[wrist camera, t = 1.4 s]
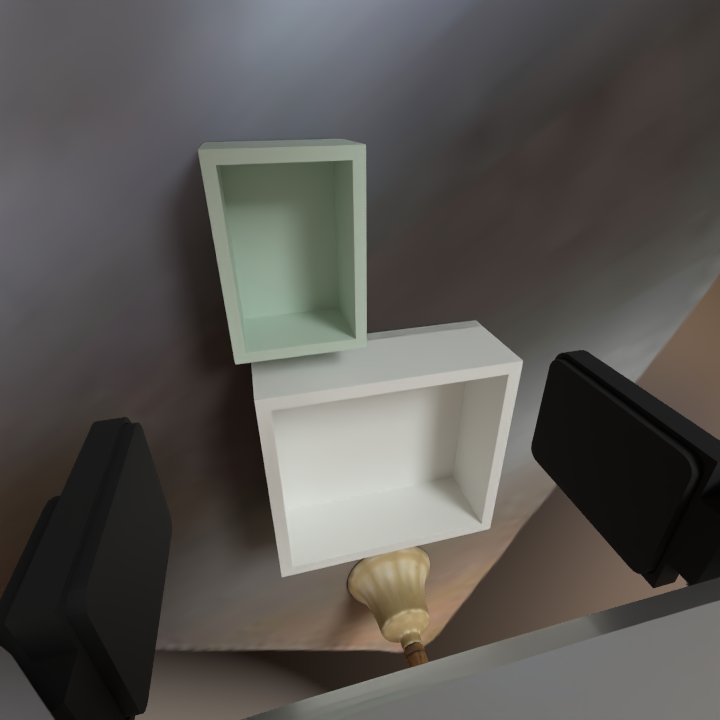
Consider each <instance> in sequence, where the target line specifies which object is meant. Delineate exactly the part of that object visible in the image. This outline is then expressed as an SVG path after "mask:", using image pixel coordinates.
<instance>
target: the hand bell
mask: <svg viewBox="0 0 720 720" xmlns="http://www.w3.org/2000/svg"><path fill="white" fill-rule="evenodd" d="M429 568H430V561H429V558H428V556H427V554H426V553H425V552H424V551H423V550H421V549H420V548H418V547H415V546H414V547H410V548H405V549H401V550H397V551H393V552H388V553H384V554H380V555H375V556H371V557H367V558H363V559H362V560H361V561H360V562H359V563H358V564H357V565H356V566H355V567H354V568H353V569H352V571H351V573H350V575H349V578H348V589H349V591H350V593H351V594H352V596H353V597H354V598H355V599H356V600H358V601H359V602H361V603H363V604H365V605H367V606H368V607H369V609H370V610H371V612H372V613H373V615H374V617H375V619H376V621H377V623H378V625H379V628H380V631H381V633H382V635H383V637H384V638H385V639H386V640H388V641H391V642H397V643H399V642H400V643H401V645H402V648H403V650H404V655H405V657H406V659H407V663H408V665H409V668H411V667H415V666H418V665H421V664H425V663H428V660H427V657H426V654H425V650H424V646H423V645H422V641H421V638H420V635H421V634H422V633H423V632H424V631H425V630H426V628H427V627H428V625H429V620H430V617H429V613H428V609H427V605H426V600H425V594H424V584H425V581H426V579H427V577H428V574H429Z"/></svg>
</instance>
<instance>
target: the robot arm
mask: <svg viewBox="0 0 720 720" xmlns="http://www.w3.org/2000/svg"><path fill="white" fill-rule="evenodd" d="M531 449H532V454H533V456H534V458H535V460H536V461H537V462H538V463H539V464H540V466H541V467H542V468H543V469H544V470H545V471H546V472H547V474H548V475H549V476H550V477H551V478H552V479H553V480H554V482H555V483H556V484H557V485H558V486H559V487H560V488H561V490H562V491H563V492H564V493H565V494H566V495H567V496H568V498H569V499H570V500H571V501H572V502H573V503H574V504H575V505H576V507H577V508H578V509H579V510H580V511H581V512H582V514H583V515H584V516H585V517H586V518H587V519H588V520H589V522H590V523H591V524H592V525H593V526H594V527H595V528H596V529H597V531H598V532H599V533H600V534H601V535H602V536H603V538H604V539H605V540H606V541H607V542H608V543H609V544H610V546H611V547H612V548H613V549H614V550H615V551H616V552H617V554H618V555H619V556H620V557H621V558H622V559H623V560H624V562H626V564H627V565H628V566H629V567H630V568H631V569H632V570H633V571H634V572H636V573H638V574H641V575H642V576H643V577H644V578H645V580H646V581H647V582H648V583H649V584H650V585H651V586H652V587H653V588H656V587H660V586H663V585H666V584H670V583H673V582H675V581H676V579H677V577H678V575H679V574H680V575H681V576H682V577H683V578H684V579H685V580H686V581H687V584H686V585H687V587H684V588H681V589H678V590H674V591H671V592H667V593H664V594H660V595H657V596H654V597H650V598H647V599H643V600H639V601H636V602H632V603H629V604H625V605H622V606H618V607H615V608H612V609H608V610H605V611H601V612H598V613H594V614H591V615H587V616H584V617H581V618H577V619H574V620H570V621H567V622H564V623H560V624H557V625H553V626H550V627H547V628H543V629H540V630H537V631H533V632H529V633H526V634H523V635H519V636H516V637H513V638H509V639H506V640H502V641H499V642H496V643H492V644H489V645H486V646H482V647H479V648H475V649H472V650H469V651H465V652H462V653H458V654H455V655H451V656H448V657H445V658H441V659H438V660H435V661H432V662H428V663H425V664H421V665H418V666H415V667H411V668H408V669H405V670H401V671H398V672H395V673H392V674H388V675H385V676H382V677H378V678H375V679H372V680H368V681H365V682H362V683H358V684H355V685H352V686H348V687H345V688H341V689H338V690H335V691H331V692H328V693H325V694H322V695H318V696H315V697H311V698H308V699H305V700H302V701H298V702H295V703H292V704H289V705H285V706H283V707H279V708H276V709H273V710H270V711H267V712H264V713H260V714H257V715H254V716H251V717H248V718H245V719H242V720H720V440H718V439H716V438H715V437H713V436H712V435H711V434H709V433H707V432H706V431H705V430H703V429H702V428H700V427H699V426H697V425H696V424H694V423H693V422H691V421H690V420H688V419H687V418H685V417H684V416H682V415H681V414H679V413H678V412H676V411H675V410H673V409H672V408H670V407H669V406H667V405H666V404H664V403H663V402H661V401H660V400H658V399H657V398H655V397H654V396H652V395H651V394H650V393H648V392H647V391H645V390H643V389H642V388H641V387H639V386H638V385H636V384H635V383H633V382H632V381H630V380H629V379H627V378H626V377H624V376H623V375H621V374H620V373H618V372H617V371H615V370H614V369H612V368H611V367H609V366H608V365H606V364H605V363H603V362H602V361H600V360H599V359H597V358H596V357H594V356H593V355H591V354H590V353H589V352H587V351H584V350H579V351H572V352H565V353H561V354H559V355H558V356H557V357H556V358H555V360H554V361H552V363H551V364H550V367H549V372H548V376H547V380H546V385H545V389H544V393H543V398H542V402H541V406H540V411H539V415H538V419H537V424H536V428H535V432H534V436H533V441H532V446H531ZM171 534H172V523H171V517H170V513H169V510H168V507H167V504H166V501H165V497H164V494H163V491H162V488H161V485H160V482H159V479H158V476H157V473H156V469H155V466H154V463H153V460H152V457H151V454H150V451H149V448H148V445H147V441H146V438H145V435H144V432H143V429H142V426H141V425H140V423H132V424H131V422H130V420H129V419H128V418H127V417H123V418H116V419H109V420H102V421H96V422H94V423H93V425H92V426H91V429H90V431H89V433H88V435H87V438H86V440H85V442H84V444H83V447H82V449H81V451H80V453H79V456H78V458H77V460H76V462H75V465H74V467H73V469H72V471H71V474H70V476H69V478H68V480H67V483H66V485H65V487H64V489H63V492H62V494H61V496H56V497H53V498H52V499H50V500H49V501H48V502H47V504H46V506H45V507H44V509H43V511H42V513H41V515H40V518H39V520H38V522H37V524H36V526H35V528H34V530H33V532H32V534H31V537H30V539H29V541H28V543H27V545H26V547H25V549H24V551H23V553H22V556H21V558H20V560H19V562H18V564H17V566H16V568H15V570H14V572H13V575H12V577H11V579H10V581H9V583H8V585H7V587H6V589H5V592H4V594H3V596H2V598H1V600H0V720H134V719H135V715H139V714H142V713H144V712H145V710H146V707H147V703H148V697H149V689H150V683H151V676H152V668H153V661H154V654H155V647H156V640H157V633H158V626H159V619H160V612H161V605H162V598H163V591H164V584H165V576H166V569H167V562H168V555H169V548H170V541H171Z"/></svg>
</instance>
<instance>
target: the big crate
mask: <svg viewBox="0 0 720 720" xmlns="http://www.w3.org/2000/svg"><path fill="white" fill-rule="evenodd" d="M522 364H523V360H521V359H520V358H519V357H518V356H517V355H516V354H514V353H513V352H512V351H511V350H510V349H509V348H507V347H506V346H505V345H504V344H503V343H502V342H500V341H499V340H498V339H497V338H496V337H494V336H493V335H492V334H491V333H490V332H489V331H487V330H486V329H485V328H484V327H483V326H482V325H480V324H479V323H478V322H477V321H476V320H474V321H466V322H458V323H450V324H441V325H433V326H425V327H417V328H409V329H401V330H393V331H384V332H376V333H368V334H367V348H359V349H351V350H344V351H336V352H328V353H320V354H313V355H305V356H297V357H290V358H282V359H274V360H266V361H259V362H251V367H252V379H253V392H254V402H255V409H256V415H257V422H258V428H259V434H260V441H261V447H262V453H263V460H264V466H265V473H266V479H267V485H268V492H269V498H270V504H271V511H272V517H273V524H274V530H275V536H276V543H277V549H278V555H279V562H280V568H281V574H282V577H285V576H290V575H294V574H298V573H302V572H307V571H311V570H315V569H320V568H324V567H328V566H333V565H337V564H341V563H345V562H350V561H354V560H358V559H363V558H367V557H371V556H375V555H380V554H384V553H388V552H393V551H397V550H401V549H405V548H410V547H414V546H418V545H423V544H427V543H431V542H436V541H440V540H444V539H448V538H453V537H457V536H461V535H466V534H470V533H474V532H478V531H483V530H487V529H490V525H491V520H492V515H493V510H494V505H495V500H496V495H497V490H498V485H499V480H500V475H501V470H502V465H503V460H504V455H505V450H506V445H507V439H508V434H509V429H510V424H511V419H512V414H513V409H514V404H515V399H516V394H517V389H518V384H519V379H520V374H521V369H522Z"/></svg>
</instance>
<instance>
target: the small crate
mask: <svg viewBox="0 0 720 720" xmlns="http://www.w3.org/2000/svg"><path fill="white" fill-rule="evenodd" d="M198 154H199V160H200V166H201V171H202V177H203V183H204V188H205V194H206V200H207V206H208V211H209V217H210V223H211V229H212V234H213V240H214V246H215V252H216V257H217V263H218V269H219V275H220V280H221V286H222V292H223V298H224V303H225V309H226V315H227V320H228V326H229V332H230V338H231V343H232V349H233V355H234V361H235V365H236V364H243V363H251V362H259V361H266V360H274V359H282V358H290V357H297V356H305V355H313V354H320V353H328V352H336V351H344V350H351V349H359V348H367V302H366V144H361V143H357V142H353V141H349V140H345V139H307V140H269V141H231V142H204V143H203V144H202V145H201V146H200V148H199V149H198Z"/></svg>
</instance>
